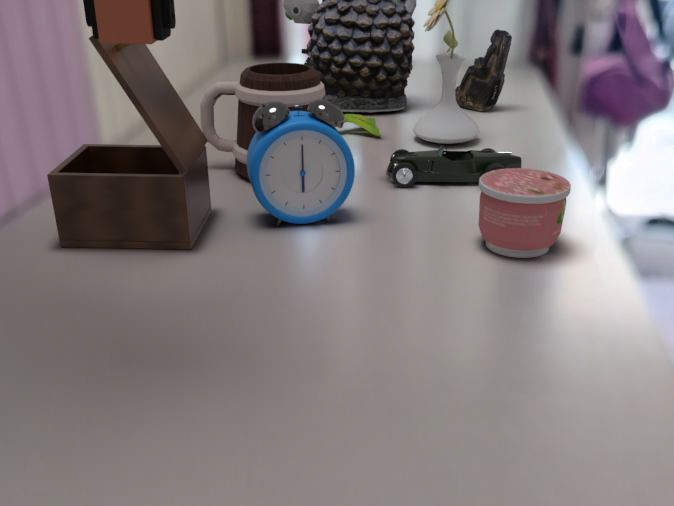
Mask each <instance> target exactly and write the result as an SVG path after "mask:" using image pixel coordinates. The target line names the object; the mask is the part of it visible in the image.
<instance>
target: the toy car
mask: <svg viewBox="0 0 674 506" xmlns="http://www.w3.org/2000/svg"><path fill="white" fill-rule="evenodd" d="M442 146H443V145H440V147H439V148H438V149H431V150H419V151H409V150H407V149H405V148H404V149H403V148H401V149H397V150H395V151H393V153H392V154H391V155H390V157H389V158H390V159H389V161H390V162H389V163H388V166H387V167H386V172H385V175H386V176H387V177H388V178H390V179H392V181H393V183H394V184H395V185H396V186H397V187H399V188H408V187H411V186H412V185H414V184H415V182H419V183H420V182H422V183H479V179H480V177H481V176H482V175H483V174H485V173H487V172H490V171H493V170H498V169H506V168H522V157H521V156H518V155H514V154H512V151H496V150H495V149H493V148H490V147H485V148H483V149H480V150H475V149H471V150H448V148H447V147H445V150H444V148H443V147H442Z"/></svg>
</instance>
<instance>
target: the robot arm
mask: <svg viewBox="0 0 674 506" xmlns="http://www.w3.org/2000/svg"><path fill="white" fill-rule="evenodd" d="M82 2H83V11H84V17H85V24H86V25H87V27H89V28H91V32H92V35H93V38H94V39H99V35H98V28H97V20H96V13H95V5H94V0H82ZM150 3H151V13H152V23H153V33H154V38H155V39H156V40H157V41H156V42H158V41H159V42H161V41H163V42H164V41H165V40H166V39H168V38H169V37H171V35H172V30H173V29H175V28H176V24H177V23H176V21H177V19H176V9H175V0H150Z"/></svg>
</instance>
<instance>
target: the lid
mask: <svg viewBox="0 0 674 506" xmlns="http://www.w3.org/2000/svg"><path fill="white" fill-rule="evenodd" d="M88 40H89V42H90V43H91V44H92V46H93V47H94V49H95V50H96V51H97V53H98V55H99V57H100V58H101V59H102V61H103V62H104V64H105V65H106V66H107V68H108V69H109V72H111V74H112V75H113V77H114V79H115V80H116V81H117V83H118V84H119V86H120V87H121V88H122V90H123V91H124V93H125V94H126V96H127V97H128V99H129V101H130V102H131V103H132V104H133V106H134V108H135V110H136V111H137V112H138V114H139V116H140V117H141V118H142V119H143V121H144V123H145V124H146V125H147V127H148V128H149V130H150V131H151V133H152V135H153V136H154V138H155V139H156V140H157V142H158V143H159V145H161V146H162V148H163V149H164V151H165V152H166V154H167V155H168V156H169V158H170V159H171V161H172V162H173V164H174V165H175V167H176V168H177V170H178V171H179V173H180V174H183V173H184V172H186V171H187V169H188V168H189V167H190V165H191V164H192V162H193V161H194V160H195V158H196V157H197V155H198V154H199V153H200V151H201V150H202V149H203V147H204V146H206V144H207V143H209V142H208V140H207V138H206V137H205V135H204V134H203V131H202V128H201V126H199V124H198V123H197V122H196V119H195V118H194V117H193V115H192V114H191V111H190V110H189V109H188V107H187V106H186V104H185V103H184V101H183V100H182V98H181V97H180V95H179V93H178V92H177V90H176V89H175V87H174V86H173V84H172V83H171V81H170V80H169V77H167V74H166V73H165V72H164V70H163V68H162V67H161V66H160V63H159V62H158V61H157V59H156V58H155V56H154V54H153V53H152V51H151V50H150V49H149V47H148V46H147V44H120V43H100V42H99V39H94V38H93V34H92V35H91V36H89V37H88Z"/></svg>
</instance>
